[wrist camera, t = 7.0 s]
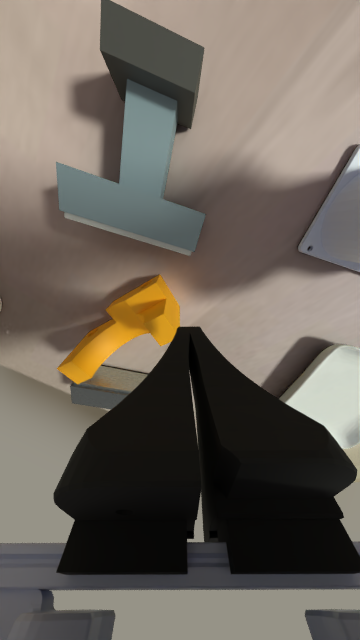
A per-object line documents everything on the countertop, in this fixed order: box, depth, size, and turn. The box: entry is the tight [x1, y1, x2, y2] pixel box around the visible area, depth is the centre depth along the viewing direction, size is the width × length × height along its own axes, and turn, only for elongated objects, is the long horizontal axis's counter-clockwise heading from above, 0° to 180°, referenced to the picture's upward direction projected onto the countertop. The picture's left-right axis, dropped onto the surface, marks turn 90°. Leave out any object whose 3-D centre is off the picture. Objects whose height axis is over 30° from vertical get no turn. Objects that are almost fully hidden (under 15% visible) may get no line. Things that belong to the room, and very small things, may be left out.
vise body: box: [70, 366, 148, 409], centre depth 23 cm, size 10×4×4 cm, turn 74°
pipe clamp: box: [57, 274, 180, 384], centre depth 17 cm, size 12×4×6 cm, turn 119°
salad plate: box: [279, 344, 360, 449], centre depth 26 cm, size 21×21×3 cm
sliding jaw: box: [56, 0, 206, 256], centre depth 11 cm, size 10×10×4 cm
